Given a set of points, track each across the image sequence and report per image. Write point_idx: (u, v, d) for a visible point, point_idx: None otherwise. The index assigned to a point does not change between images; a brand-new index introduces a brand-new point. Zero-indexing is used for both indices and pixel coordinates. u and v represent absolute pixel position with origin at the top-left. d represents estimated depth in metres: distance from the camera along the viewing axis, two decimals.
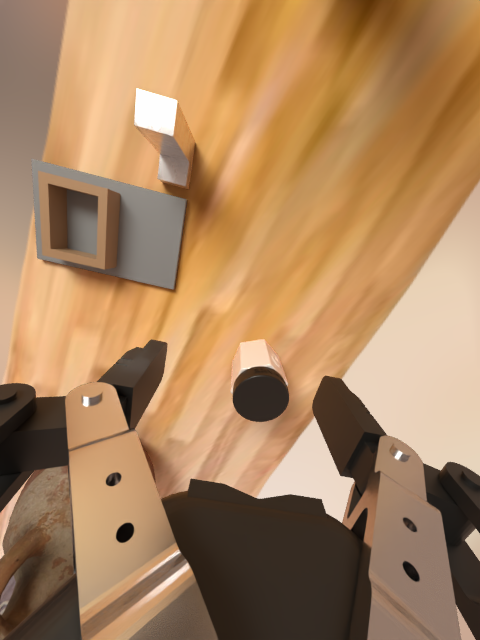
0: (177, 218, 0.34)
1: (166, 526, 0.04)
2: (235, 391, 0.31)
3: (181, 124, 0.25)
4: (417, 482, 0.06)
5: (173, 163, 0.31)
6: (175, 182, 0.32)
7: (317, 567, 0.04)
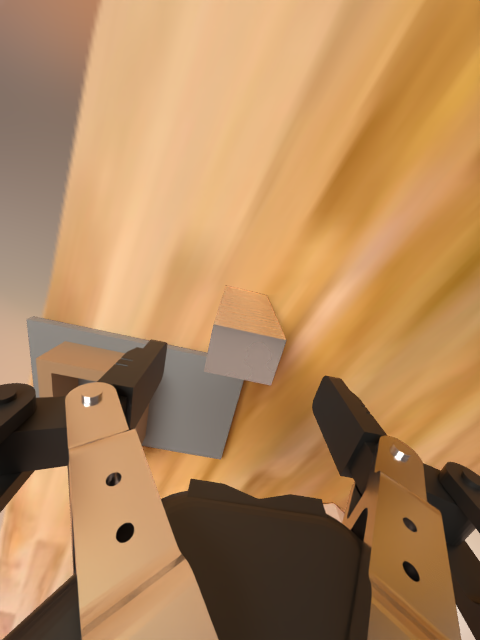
0: (233, 386, 0.24)
1: (166, 526, 0.04)
2: None
3: None
4: (417, 482, 0.06)
5: None
6: None
7: (317, 567, 0.04)
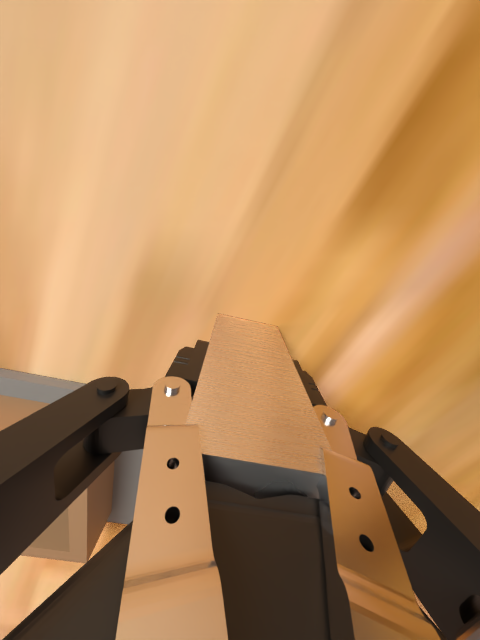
0: None
1: (206, 526, 0.04)
2: None
3: None
4: (334, 439, 0.07)
5: None
6: None
7: (317, 567, 0.04)
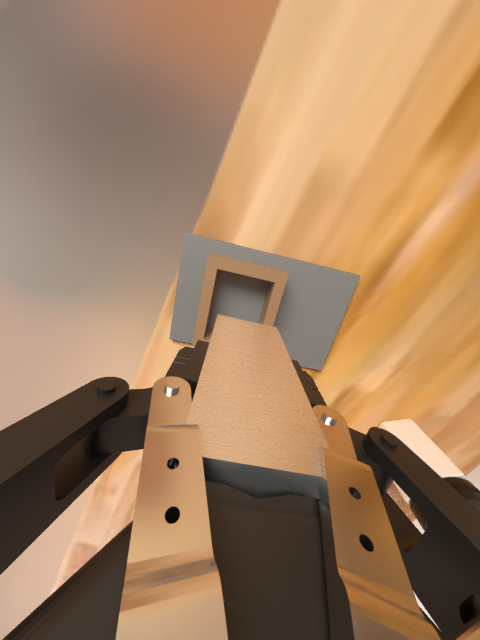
0: (344, 296, 0.29)
1: (206, 526, 0.04)
2: None
3: None
4: (334, 440, 0.07)
5: None
6: None
7: (317, 567, 0.04)
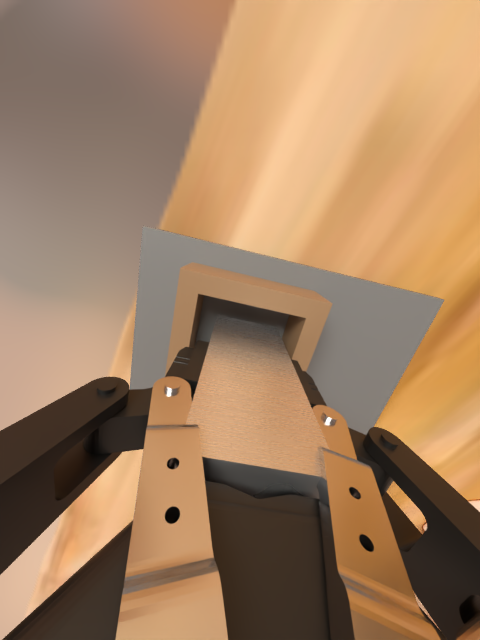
0: (414, 332, 0.17)
1: (206, 526, 0.04)
2: None
3: None
4: (334, 440, 0.07)
5: None
6: None
7: (317, 567, 0.04)
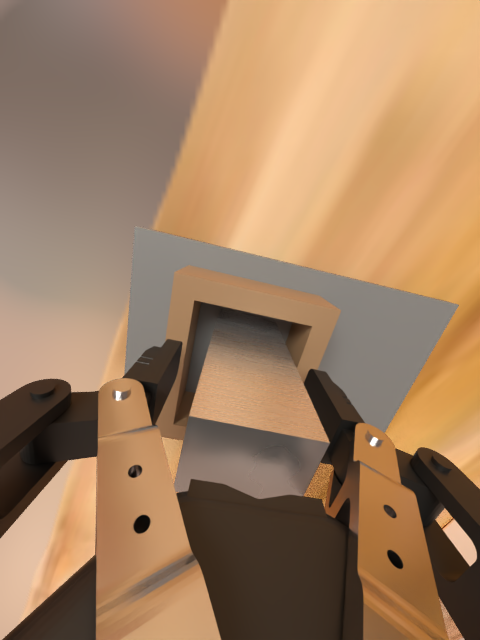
0: (426, 339, 0.16)
1: (180, 524, 0.04)
2: None
3: None
4: (386, 464, 0.06)
5: None
6: None
7: (317, 567, 0.04)
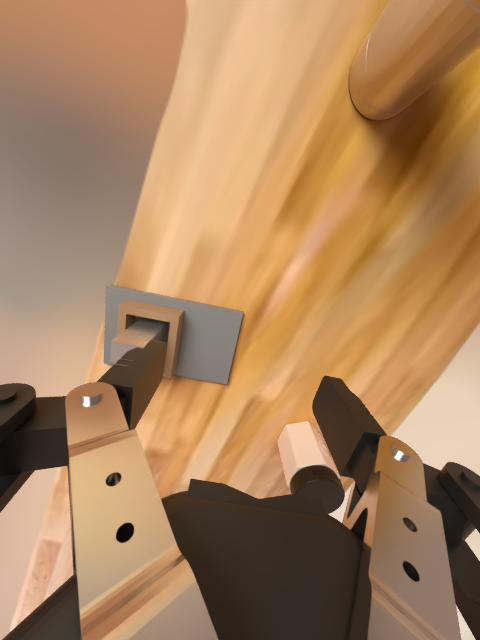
0: (234, 328, 0.38)
1: (166, 526, 0.04)
2: (296, 493, 0.34)
3: None
4: (417, 482, 0.06)
5: None
6: None
7: (317, 567, 0.04)
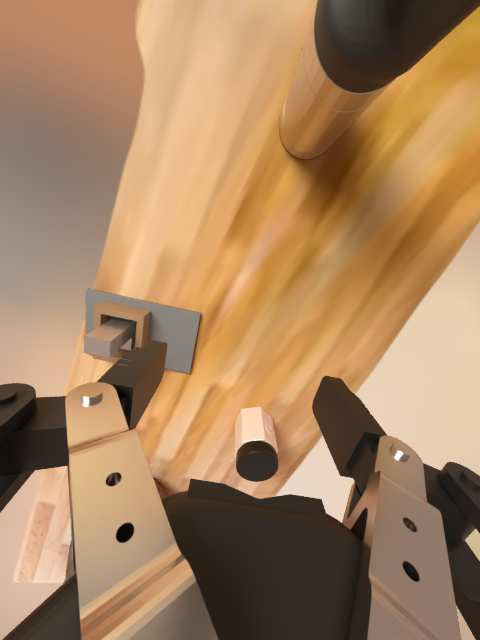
0: (193, 326, 0.45)
1: (166, 526, 0.04)
2: (238, 461, 0.42)
3: (117, 340, 0.38)
4: (417, 482, 0.06)
5: None
6: (123, 348, 0.44)
7: (317, 567, 0.04)
